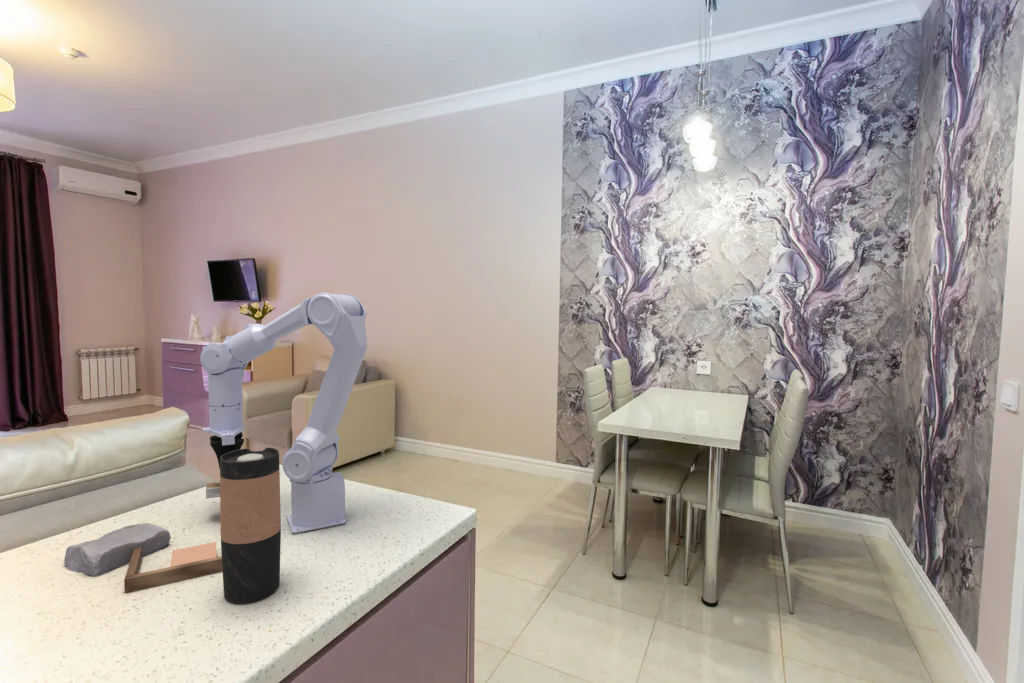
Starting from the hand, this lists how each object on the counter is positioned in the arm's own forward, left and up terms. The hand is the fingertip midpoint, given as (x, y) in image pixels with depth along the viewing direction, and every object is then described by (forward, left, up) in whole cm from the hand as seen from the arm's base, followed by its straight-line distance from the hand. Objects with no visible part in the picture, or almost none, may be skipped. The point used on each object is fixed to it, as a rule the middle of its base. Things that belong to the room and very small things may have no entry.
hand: (227, 472), depth 97 cm
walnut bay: (+5, +18, -8) cm, 21 cm away
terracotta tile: (+5, +19, -9) cm, 21 cm away
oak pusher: (0, +1, -4) cm, 4 cm away
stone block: (+16, +9, -9) cm, 21 cm away
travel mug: (-2, +32, -9) cm, 33 cm away
